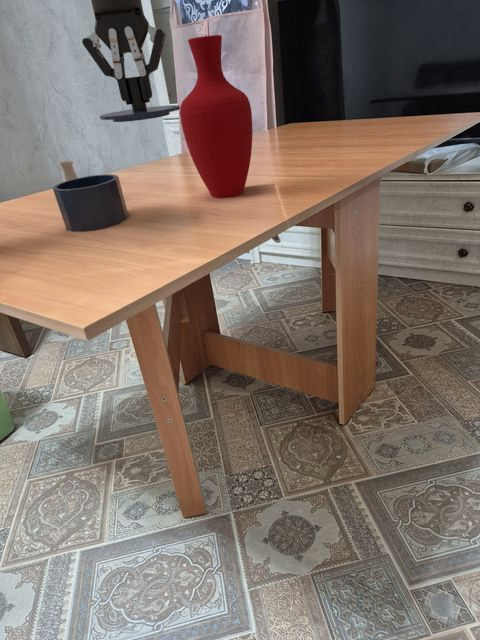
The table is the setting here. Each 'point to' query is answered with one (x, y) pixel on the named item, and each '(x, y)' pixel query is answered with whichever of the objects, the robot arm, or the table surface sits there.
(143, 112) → the lid
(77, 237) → the table surface
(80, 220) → the pot
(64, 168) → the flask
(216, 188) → the vase
